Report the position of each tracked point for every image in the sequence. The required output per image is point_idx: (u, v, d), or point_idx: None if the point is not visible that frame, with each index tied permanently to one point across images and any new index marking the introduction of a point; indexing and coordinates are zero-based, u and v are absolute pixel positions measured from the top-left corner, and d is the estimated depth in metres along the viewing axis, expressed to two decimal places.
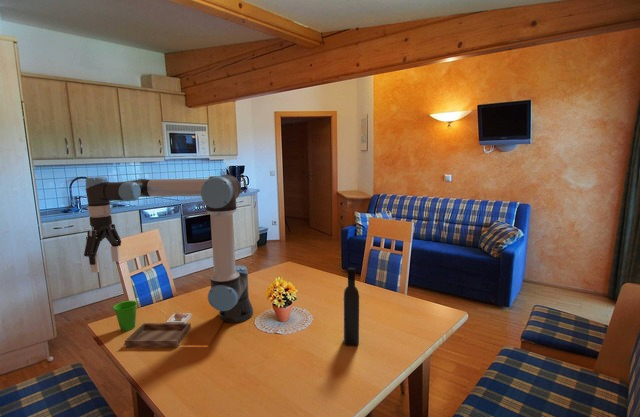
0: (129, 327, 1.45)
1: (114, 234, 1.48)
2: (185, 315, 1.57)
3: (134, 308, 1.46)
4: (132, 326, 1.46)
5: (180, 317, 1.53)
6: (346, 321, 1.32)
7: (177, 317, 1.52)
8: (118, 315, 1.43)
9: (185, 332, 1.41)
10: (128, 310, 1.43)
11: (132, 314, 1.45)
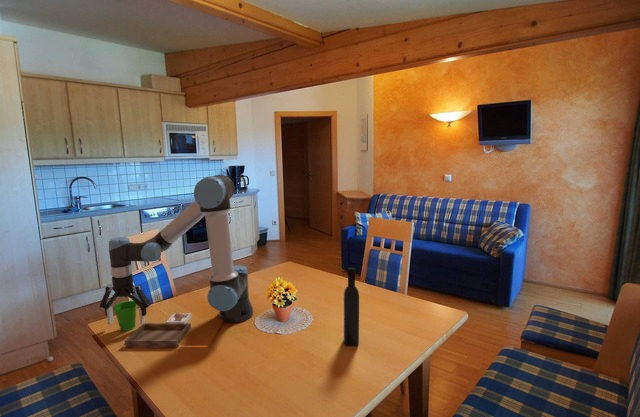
0: (129, 327, 1.45)
1: None
2: (185, 315, 1.57)
3: (134, 308, 1.46)
4: (132, 326, 1.46)
5: (180, 317, 1.53)
6: (346, 321, 1.32)
7: (177, 317, 1.52)
8: (118, 315, 1.43)
9: (185, 332, 1.41)
10: (128, 310, 1.43)
11: (132, 314, 1.45)
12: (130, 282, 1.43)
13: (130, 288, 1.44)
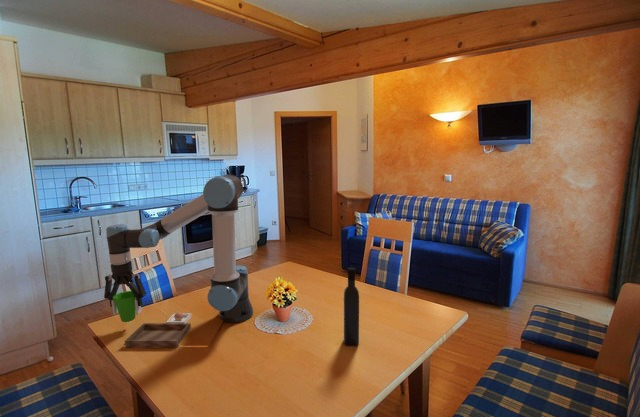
0: (129, 317, 1.45)
1: None
2: (185, 315, 1.57)
3: (134, 297, 1.45)
4: (132, 316, 1.46)
5: (180, 317, 1.53)
6: (346, 321, 1.32)
7: (177, 317, 1.52)
8: (118, 305, 1.42)
9: (185, 332, 1.41)
10: (128, 299, 1.42)
11: (132, 303, 1.44)
12: (129, 269, 1.43)
13: (129, 275, 1.43)
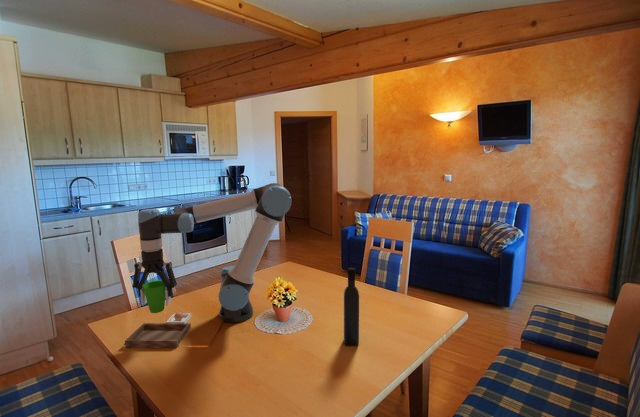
0: (159, 307, 1.36)
1: None
2: (185, 315, 1.57)
3: (164, 287, 1.36)
4: (162, 307, 1.37)
5: (180, 317, 1.53)
6: (346, 321, 1.32)
7: (177, 317, 1.52)
8: (147, 294, 1.34)
9: (185, 332, 1.41)
10: (158, 289, 1.34)
11: (162, 293, 1.36)
12: (160, 257, 1.34)
13: (160, 263, 1.34)
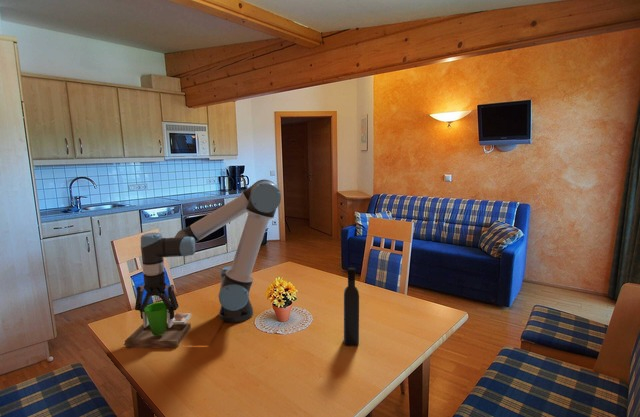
0: (161, 330, 1.38)
1: None
2: (185, 315, 1.57)
3: (166, 310, 1.38)
4: (164, 329, 1.39)
5: (180, 317, 1.53)
6: (346, 321, 1.32)
7: (177, 317, 1.52)
8: (150, 317, 1.35)
9: (185, 332, 1.41)
10: (160, 312, 1.35)
11: (164, 316, 1.37)
12: (162, 280, 1.36)
13: (162, 286, 1.36)
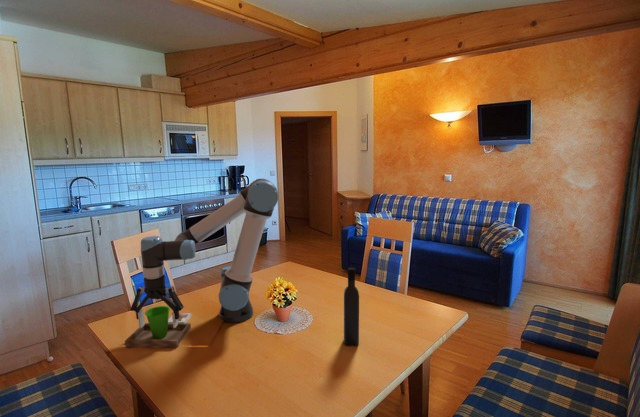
0: (162, 334, 1.38)
1: None
2: (185, 315, 1.57)
3: (167, 314, 1.38)
4: (165, 333, 1.39)
5: (180, 317, 1.53)
6: (346, 321, 1.32)
7: None
8: (151, 321, 1.35)
9: (185, 332, 1.41)
10: (161, 316, 1.36)
11: (165, 320, 1.38)
12: (163, 284, 1.36)
13: (163, 290, 1.36)
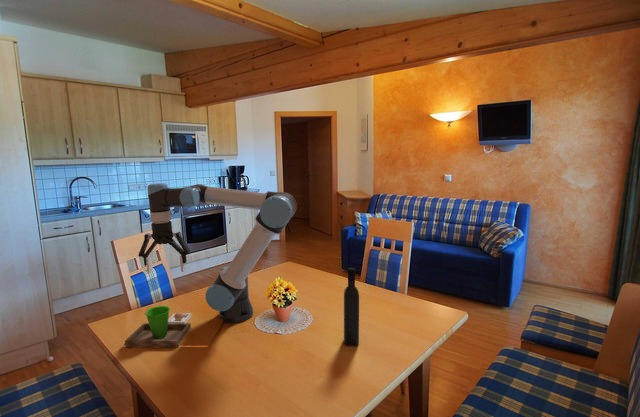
0: (162, 334, 1.38)
1: None
2: (185, 315, 1.57)
3: (167, 314, 1.38)
4: (165, 333, 1.39)
5: (180, 317, 1.53)
6: (346, 321, 1.32)
7: (177, 317, 1.52)
8: (151, 321, 1.35)
9: (185, 332, 1.41)
10: (161, 316, 1.36)
11: (165, 320, 1.38)
12: (170, 228, 1.41)
13: (170, 235, 1.41)
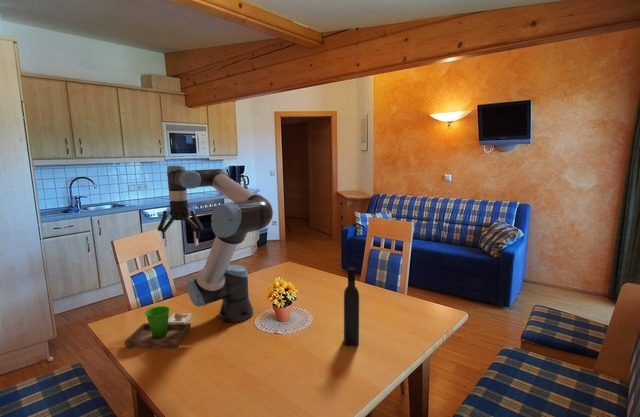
0: (162, 334, 1.38)
1: None
2: (185, 315, 1.57)
3: (167, 314, 1.38)
4: (165, 333, 1.39)
5: (180, 317, 1.53)
6: (346, 321, 1.32)
7: (177, 317, 1.52)
8: (151, 321, 1.35)
9: (185, 332, 1.41)
10: (161, 316, 1.36)
11: (165, 320, 1.38)
12: (186, 206, 1.56)
13: (186, 212, 1.56)
